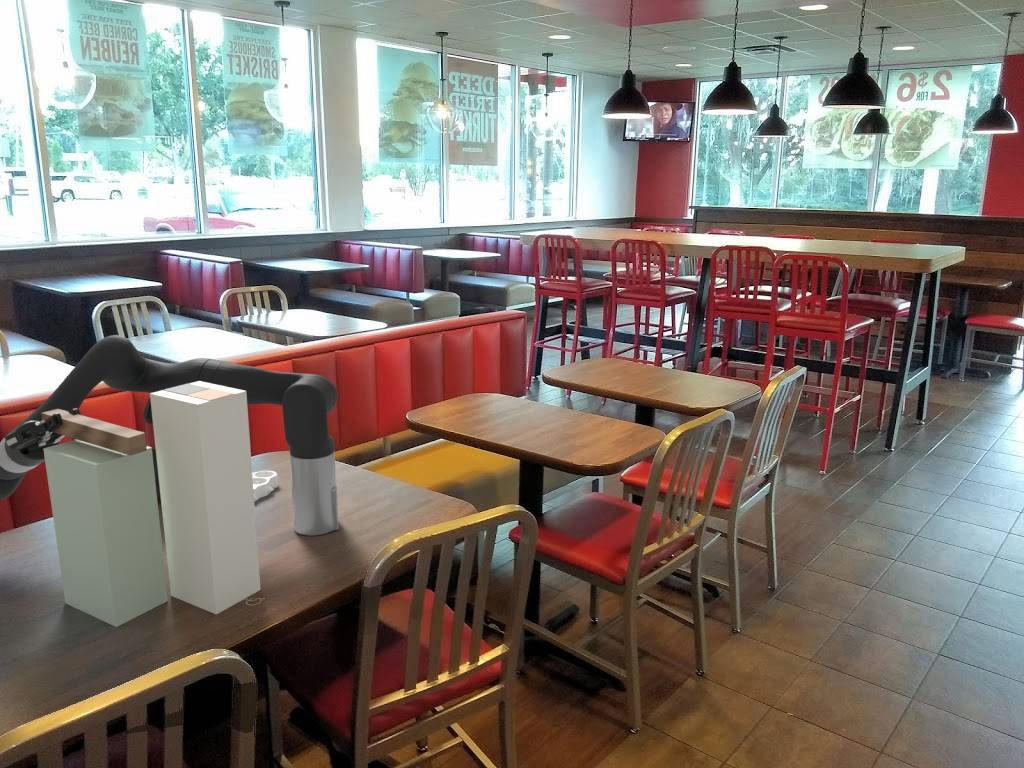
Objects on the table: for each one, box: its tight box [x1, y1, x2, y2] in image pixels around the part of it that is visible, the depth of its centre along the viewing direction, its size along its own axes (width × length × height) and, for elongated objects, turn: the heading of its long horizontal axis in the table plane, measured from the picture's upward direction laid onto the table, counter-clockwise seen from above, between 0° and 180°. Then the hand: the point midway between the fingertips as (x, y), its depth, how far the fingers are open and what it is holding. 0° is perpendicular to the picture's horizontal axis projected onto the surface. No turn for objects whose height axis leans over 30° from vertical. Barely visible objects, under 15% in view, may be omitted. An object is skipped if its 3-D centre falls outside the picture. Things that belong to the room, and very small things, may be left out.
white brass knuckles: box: [252, 470, 279, 502], centre depth 189 cm, size 3×18×15 cm
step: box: [43, 439, 169, 628], centre depth 138 cm, size 14×10×29 cm
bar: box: [41, 409, 148, 456], centre depth 134 cm, size 24×3×3 cm, turn 60°
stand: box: [149, 381, 262, 615], centre depth 140 cm, size 12×10×38 cm
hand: (68, 416), depth 136 cm, fingers closed on bar, 2 cm apart
